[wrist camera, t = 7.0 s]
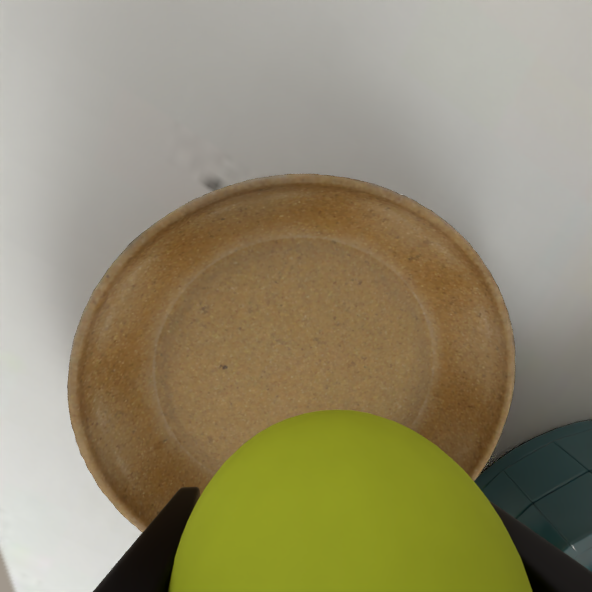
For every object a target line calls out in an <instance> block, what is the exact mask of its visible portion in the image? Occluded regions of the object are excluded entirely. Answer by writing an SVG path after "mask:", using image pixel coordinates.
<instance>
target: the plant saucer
mask: <svg viewBox="0 0 592 592" xmlns="http://www.w3.org/2000/svg"><path fill="white" fill-rule="evenodd" d="M514 383H515V344H514V336H513V329H512V327H511V322H510V319H509V314H508V311H507V308H506V306H505V303H504V300H503V297H502V295H501V293H500V290H499V287H498V286H497V284H496V282H495V281H494V279H493V277H492V275H491V273H490V272H489V270H488V268H487V267H486V265H485V264H484V262H483V261H482V259H481V258H480V256H479V255H478V253H477V252H476V251H475V250H474V249H473V247H472V246H471V245H470V243H469V242H467V241H466V240H465V239H464V237H463V236H462V235H460V234H459V233H458V232H457V231H456V230H455V229H454V228H453V227H452V226H451V225H450V224H448V223H447V222H446V221H445V220H443V219H442V218H441V217H439V216H438V215H436V214H435V213H434V212H433V211H432V210H429V209H427V208H425V207H424V206H422V205H420V204H419V203H417V202H416V201H414V200H412V199H410V198H408V197H406V196H404V195H400V194H398V193H397V192H394V191H392V190H389V189H387V188H384V187H381V186H378V185H375V184H372V183H368V182H364V181H360V180H355V179H350V178H345V177H335V176H329V175H318V174H285V175H276V176H269V177H262V178H256V179H251V180H247V181H244V182H241V183H236V184H234V185H229V186H227V187H224V188H221V189H218V190H215V191H212V192H210V193H208V194H205V195H203V196H202V197H199V198H196V199H194V200H192V201H190V202H188V203H186V204H185V205H183V206H181V207H179V208H178V209H176V210H175V211H173V212H171V213H169V214H168V215H166V216H165V217H164V218H162V219H161V220H159V221H158V222H156V223H155V224H154V225H152V226H151V227H150V228H148V229H147V230H146V231H144V232H143V233H142V234H141V235H139V236H138V237H137V238H136V239H135V240H133V241H132V242H131V243H130V244H129V245H128V247H127V248H126V249H125V250H124V251H123V252H122V253H121V255H120V256H119V257H118V258H117V259H116V260H115V261H114V263H113V264H112V265H111V266H110V268H109V269H108V270H107V272H106V273H105V275H104V276H103V278H102V279H101V281H100V282H99V284H98V285H97V286H96V288H95V289H94V291H93V293H92V295H91V297H90V299H89V301H88V303H87V306H86V307H85V309H84V311H83V314H82V317H81V320H80V322H79V325H78V328H77V331H76V333H75V336H74V340H73V345H72V351H71V356H70V362H69V373H68V385H67V388H68V404H69V413H70V418H71V424H72V428H73V431H74V433H75V438H76V442H77V444H78V447H79V450H80V453H81V456H82V457H83V459H84V460H85V463H86V466H87V468H88V470H89V471H90V473H91V474H92V475H93V477H94V479H95V481H96V483H97V485H98V486H99V488H100V489H101V491H102V492H103V493H104V494H105V495H106V496H107V497H108V499H109V500H110V501H111V502H112V503H113V505H114V506H115V507H116V509H117V510H118V511H119V512H120V513H121V514H122V515H123V516H124V517H125V518H127V519H128V520H129V521H130V522H131V523H132V524H133V525H135V526H136V527H137V528H138V529H139V530H140V531H141V532H144V530H145V529H146V528H147V527H148V526H149V525H150V523H151V522H152V521H153V520H154V519H155V517H156V516H157V515H158V514H159V513H160V511H161V510H162V509H163V508H164V507H165V505H166V504H167V503H168V502H169V501H170V500H171V498H172V497H173V496H174V495H175V494H176V492H177V491H178V490H179V489H180V488H182V487H198V488H199V490H200V496H201V494H202V493H203V491H204V489H205V488H206V486H207V485H208V483H209V482H210V481H211V479H212V478H213V476H214V475H215V474H216V472H217V471H218V470H219V469H220V467H221V466H222V465H223V464H224V462H225V461H226V460H227V459H228V458H230V457H231V456H232V455H233V454H234V453H235V452H236V451H237V450H238V449H239V448H240V447H241V446H242V445H243V444H244V443H246V442H247V441H248V440H250V439H251V438H252V437H254V436H255V435H256V434H258V433H259V432H261V431H263V430H265V429H266V428H268V427H270V426H272V425H274V424H276V423H278V422H281V421H283V420H285V419H288V418H291V417H294V416H298V415H301V414H304V413H310V412H316V411H322V410H354V411H359V412H365V413H370V414H373V415H376V416H380V417H383V418H386V419H389V420H392V421H395V422H397V423H399V424H401V425H403V426H406V427H408V428H410V429H411V430H413V431H415V432H417V433H418V434H420V435H422V436H423V437H425V438H426V439H428V440H429V441H431V442H432V443H434V444H435V445H437V446H438V447H439V448H440V449H441V450H442V451H444V452H445V453H446V454H447V455H448V456H449V457H450V458H452V459H453V460H454V461H455V462H456V463H457V464H458V465H459V466H460V467H462V468H463V470H464V471H465V472H466V473H467V474H468V475H469V476H470V478H471V479H472V480H473V481H474V480H475V479H476V478H477V477H478V476H479V474H480V473H481V471H482V470H483V468H484V467H485V465H486V463H487V462H488V460H489V459H490V457H491V455H492V453H493V451H494V449H495V447H496V445H497V443H498V441H499V438H500V436H501V434H502V430H503V427H504V424H505V422H506V419H507V416H508V412H509V409H510V405H511V401H512V396H513V388H514Z"/></svg>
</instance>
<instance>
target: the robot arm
mask: <svg viewBox="0 0 592 592" xmlns="http://www.w3.org/2000/svg"><path fill="white" fill-rule="evenodd" d="M199 498H200V490H199V488H198V487H182V488H180V489H179V490H178V491H177V492H176V494H175V495H174V496H173V497H172V498H171V500H170V501H169V502H168V503H167V504H166V505H165V507H164V508H163V509H162V510H161V511H160V513H159V514H158V515H157V516H156V517H155V519H154V520H153V521H152V522H151V523H150V525H149V526H148V527H147V528H146V529H145V530H144V532H143V533H142V534H141V535H140V536H139V538H138V539H137V540H136V541H135V542H134V544H133V545H132V546H131V547H130V548H129V549H128V551H127V552H126V553H125V554H124V555H123V557H122V558H121V559H120V560H119V561H118V563H117V564H116V565H115V566H114V567H113V568H112V570H111V571H110V572H109V573H108V574H107V576H106V577H105V578H104V579H103V580H102V582H101V583H100V584H99V585H98V586H97V587H96V589H95V590H94V591H93V592H168V588H169V583H170V578H171V573H172V568H173V563H174V558H175V555H176V552H177V549H178V545H179V542H180V539H181V536H182V534H183V531H184V529H185V526H186V524H187V521H188V519H189V517H190V515H191V513H192V511H193V509H194V507H195V505H196V503H197V501H198V499H199ZM489 502H490V503H491V505H492V506H493V508H494V509H495V511H496V512H497V514H498V515H499V517H500V518H501V520H502V522H503V524H504V526H505V528H506V529H507V531H508V533H509V535H510V537H511V539H512V541H513V543H514V545H515V547H516V549H517V551H518V553H519V555H520V557H521V560H522V563H523V566H524V568H525V571H526V574H527V577H528V580H529V583H530V585H531V588H532V592H592V572H591V571H590V570H588V569H587V568H586V567H584V566H583V565H581V564H580V563H578V562H577V561H576V560H574V559H573V558H571V557H570V556H568V555H567V554H565V553H564V552H563V551H561V550H560V549H558V548H557V547H555V546H554V545H553V544H551V543H550V542H548V541H547V540H545V539H544V538H543V537H541V536H540V535H538V534H537V533H535V532H534V531H533V530H531V529H530V528H528V527H527V526H525V525H524V524H522V523H521V522H520V521H518V520H517V519H515V518H514V517H512V516H511V515H510V514H508V513H507V512H505V511H504V510H502V509H501V508H500V507H498V506H497V505H495V504H494V503H492V502H491V501H490V500H489Z"/></svg>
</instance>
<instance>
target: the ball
mask: <svg viewBox="0 0 592 592" xmlns="http://www.w3.org/2000/svg"><path fill="white" fill-rule="evenodd" d="M168 592H532V588H531V585H530V583H529V580H528V577H527V574H526V571H525V568H524V566H523V563H522V560H521V557H520V555H519V553H518V551H517V549H516V547H515V545H514V543H513V541H512V539H511V537H510V535H509V533H508V531H507V529H506V528H505V526H504V524H503V522H502V520H501V518H500V517H499V515H498V514H497V512H496V511H495V509H494V508H493V506H492V505H491V503H490V502H489V500H488V499H487V497H486V496H485V495H484V493H483V492H482V491H481V490H480V488H479V487H478V486H477V485H476V483H475V482H474V481H473V480H472V479H471V478H470V476H469V475H468V474H467V473H466V472H465V471H464V470H463V468H462V467H460V466H459V465H458V464H457V463H456V462H455V461H454V460H453V459H452V458H450V457H449V456H448V455H447V454H446V453H445V452H444V451H442V450H441V449H440V448H439V447H438V446H437V445H435V444H434V443H432V442H431V441H429V440H428V439H426V438H425V437H423V436H422V435H420V434H418V433H417V432H415V431H413V430H411V429H410V428H408V427H406V426H403V425H401V424H399V423H397V422H395V421H392V420H389V419H386V418H383V417H380V416H376V415H373V414H370V413H365V412H359V411H354V410H322V411H316V412H310V413H304V414H301V415H298V416H294V417H291V418H288V419H285V420H283V421H281V422H278V423H276V424H274V425H272V426H270V427H268V428H266V429H265V430H263V431H261V432H259V433H258V434H256V435H255V436H254V437H252V438H251V439H250V440H248V441H247V442H246V443H244V444H243V445H242V446H241V447H240V448H239V449H238V450H237V451H236V452H235V453H234V454H233V455H232V456H231V457H230V458H228V459H227V460H226V461H225V462H224V464H223V465H222V466H221V467H220V469H219V470H218V471H217V472H216V474H215V475H214V476H213V478H212V479H211V481H210V482H209V483H208V485H207V486H206V488H205V489H204V491H203V493H202V494H201V496H200V498H199V499H198V501H197V503H196V505H195V507H194V509H193V511H192V513H191V515H190V517H189V519H188V521H187V524H186V526H185V529H184V531H183V534H182V536H181V539H180V542H179V545H178V549H177V552H176V555H175V558H174V563H173V568H172V573H171V578H170V583H169V588H168Z"/></svg>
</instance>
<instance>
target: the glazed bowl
mask: <svg viewBox="0 0 592 592" xmlns="http://www.w3.org/2000/svg"><path fill="white" fill-rule="evenodd" d="M474 482H475V483H476V485H477V486H478V487H479V488H480V490H481V491H482V492H483V493H484V495H485V496H486V497H487V499H488V500H490V501H491V502H492V503H494V504H495V505H497V506H498V507H500V508H501V509H502V510H504V511H505V512H507V513H508V514H510V515H511V516H512V517H514V518H515V519H517V520H518V521H520V522H521V523H522V524H524V525H525V526H527V527H528V528H530V529H531V530H533V531H534V532H535V533H537V534H538V535H540V536H541V537H543V538H544V539H545V540H547V541H548V542H550V543H551V544H553V545H554V546H555V547H557V548H558V549H560V550H561V551H563V552H564V553H565V554H567V555H568V556H570V557H571V558H573V559H574V560H576V561H577V562H578V563H580V564H581V565H583V566H584V567H586V568H587V569H588V570H590V571H591V572H592V420H586V421H581V422H576V423H573V424H570V425H566V426H563V427H560V428H557V429H554V430H552V431H549V432H547V433H544V434H542V435H540V436H537V437H535V438H533V439H531V440H529V441H528V442H526V443H524V444H522V445H520V446H519V447H517V448H515V449H513V450H512V451H510V452H509V453H507V454H506V455H505V456H503V457H502V458H500V459H499V460H497V461H496V462H495V463H493V464H492V465H491V466H490V467H489V468H488V469H486V470H485V471H484V472H483V473H482V474H481V475H479V476H478V477H477V478H476V479H475V480H474Z"/></svg>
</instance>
